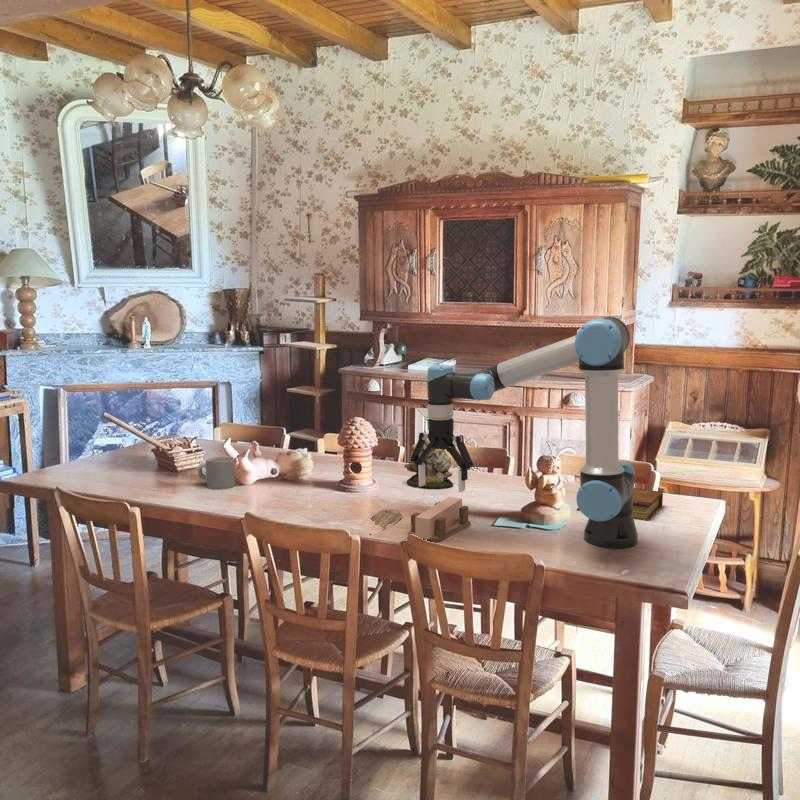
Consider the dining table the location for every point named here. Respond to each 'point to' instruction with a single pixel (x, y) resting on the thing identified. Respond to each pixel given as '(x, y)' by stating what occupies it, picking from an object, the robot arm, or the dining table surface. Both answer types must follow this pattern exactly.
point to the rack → (441, 525)
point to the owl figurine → (432, 469)
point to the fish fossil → (386, 517)
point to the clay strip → (427, 519)
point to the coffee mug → (218, 472)
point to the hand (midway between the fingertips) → (441, 488)
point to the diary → (645, 503)
